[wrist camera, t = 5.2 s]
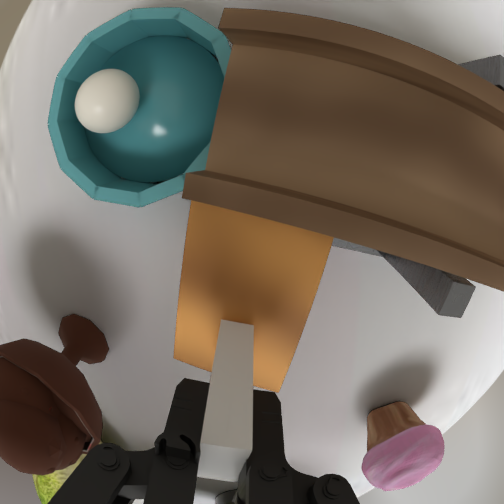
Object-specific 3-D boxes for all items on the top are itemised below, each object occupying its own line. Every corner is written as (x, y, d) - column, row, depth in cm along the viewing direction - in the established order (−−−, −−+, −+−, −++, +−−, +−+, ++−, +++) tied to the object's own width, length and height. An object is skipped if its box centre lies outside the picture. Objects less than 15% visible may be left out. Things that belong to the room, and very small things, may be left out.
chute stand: (485, 278, 20) (548, 333, 12) (251, 224, 19) (247, 297, 10) (521, 146, 16) (599, 164, 7) (293, 34, 15) (324, -46, 6)
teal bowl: (222, 207, 19) (215, 221, 15) (70, 182, 18) (41, 191, 15) (260, 36, 15) (260, 15, 11) (98, 30, 14) (74, 16, 11)
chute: (489, 383, 16) (515, 438, 10) (202, 319, 19) (157, 380, 13) (572, 186, 10) (628, 204, 4) (254, 50, 13) (215, -3, 7)
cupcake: (343, 406, 26) (365, 489, 16) (421, 374, 24) (460, 446, 15) (355, 443, 28) (372, 509, 19) (420, 416, 27) (447, 477, 18)
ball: (91, 134, 12) (59, 131, 13) (146, 136, 16) (108, 132, 17) (106, 58, 11) (71, 68, 12) (159, 73, 14) (119, 77, 16)
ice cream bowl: (33, 272, 21) (-78, 371, 7) (140, 312, 22) (54, 476, 8) (45, 356, 24) (-22, 454, 10) (135, 394, 25) (90, 520, 11)
